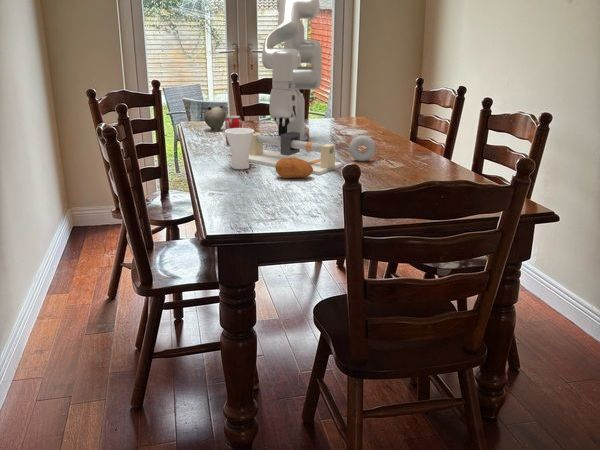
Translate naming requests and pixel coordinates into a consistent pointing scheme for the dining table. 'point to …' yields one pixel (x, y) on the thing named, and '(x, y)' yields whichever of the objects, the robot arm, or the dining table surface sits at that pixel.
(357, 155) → the donut
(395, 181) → the dining table surface
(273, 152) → the pipe stand
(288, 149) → the collar
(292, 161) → the potato
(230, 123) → the soda can
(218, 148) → the dining table surface
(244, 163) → the cup
